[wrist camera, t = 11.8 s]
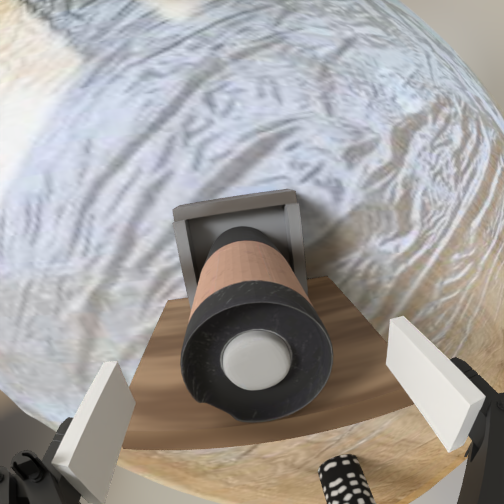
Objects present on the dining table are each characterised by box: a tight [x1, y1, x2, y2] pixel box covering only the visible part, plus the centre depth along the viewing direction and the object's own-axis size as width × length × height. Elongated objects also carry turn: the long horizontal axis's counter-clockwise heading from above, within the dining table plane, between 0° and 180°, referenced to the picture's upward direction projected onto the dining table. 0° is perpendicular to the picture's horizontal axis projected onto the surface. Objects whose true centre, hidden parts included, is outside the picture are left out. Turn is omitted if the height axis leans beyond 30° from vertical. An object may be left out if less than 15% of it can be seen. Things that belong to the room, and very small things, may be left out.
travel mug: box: [180, 226, 333, 423], centre depth 23 cm, size 8×8×20 cm
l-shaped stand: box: [122, 189, 414, 450], centre depth 25 cm, size 13×20×22 cm, turn 98°
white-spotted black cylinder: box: [318, 455, 376, 504], centre depth 38 cm, size 8×8×20 cm
